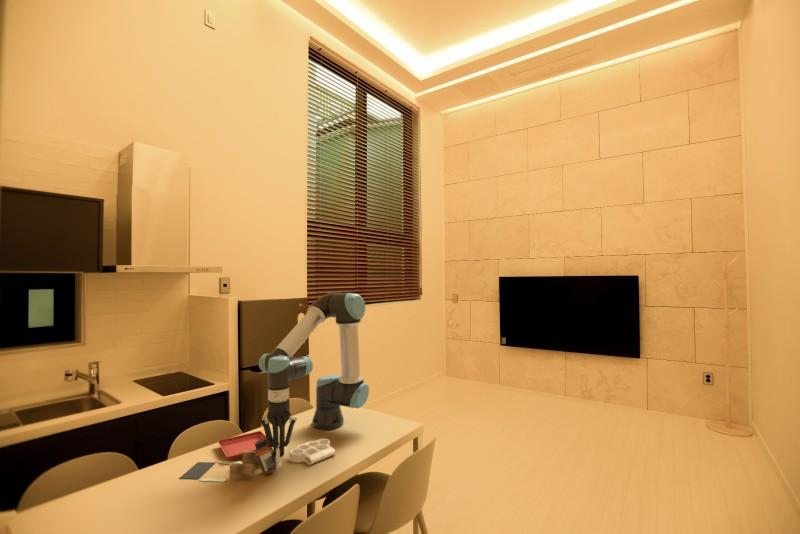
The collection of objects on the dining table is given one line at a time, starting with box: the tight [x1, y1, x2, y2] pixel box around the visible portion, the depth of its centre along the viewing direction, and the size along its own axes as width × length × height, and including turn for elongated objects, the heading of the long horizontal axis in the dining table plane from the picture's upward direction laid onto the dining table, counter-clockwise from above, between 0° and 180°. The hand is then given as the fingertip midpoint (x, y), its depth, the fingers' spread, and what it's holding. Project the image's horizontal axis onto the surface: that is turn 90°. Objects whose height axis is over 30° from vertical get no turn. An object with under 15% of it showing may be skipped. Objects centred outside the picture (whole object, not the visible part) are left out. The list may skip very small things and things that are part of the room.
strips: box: [198, 460, 243, 483], centre depth 141 cm, size 8×14×1 cm, turn 178°
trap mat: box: [178, 461, 217, 480], centre depth 141 cm, size 7×12×1 cm, turn 178°
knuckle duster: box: [289, 438, 336, 465], centre depth 155 cm, size 3×18×15 cm
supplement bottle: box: [255, 438, 278, 475], centre depth 140 cm, size 6×6×11 cm
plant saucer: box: [217, 430, 268, 461], centre depth 159 cm, size 18×18×3 cm
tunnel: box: [228, 451, 260, 482], centre depth 140 cm, size 8×12×5 cm, turn 178°
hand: (278, 465), depth 140 cm, fingers closed
